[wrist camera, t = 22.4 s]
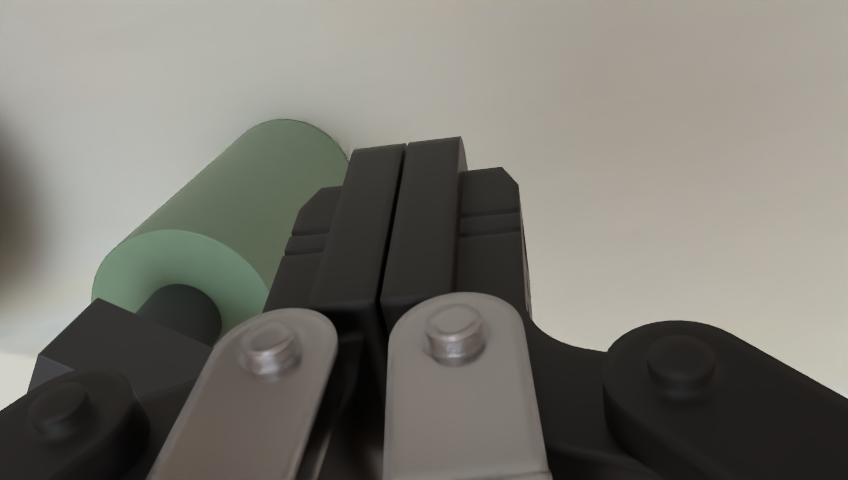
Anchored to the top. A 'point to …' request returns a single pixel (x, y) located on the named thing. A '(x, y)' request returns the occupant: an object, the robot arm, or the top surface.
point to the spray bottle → (198, 261)
